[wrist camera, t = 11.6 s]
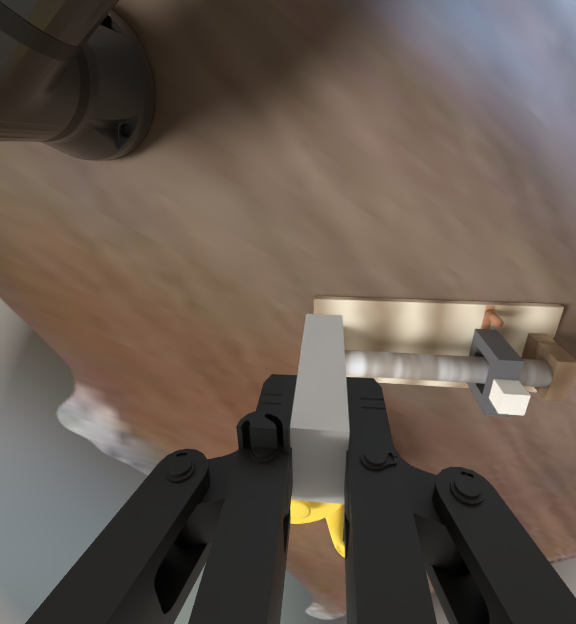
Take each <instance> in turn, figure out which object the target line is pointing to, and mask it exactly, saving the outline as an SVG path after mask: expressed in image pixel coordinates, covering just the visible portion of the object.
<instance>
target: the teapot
mask: <svg viewBox="0 0 576 624" xmlns="http://www.w3.org/2000/svg"><path fill="white" fill-rule="evenodd" d="M290 510H291V522H290V523H292V524H302V523H308V522H313V521H317V520H320V519H323V518H325V517H326V520H327V523H328V527H329V531H330V534H331V537H332V540H333V543H334V545H335V548H336V549H337V551H338V552H339V553H340V555H342V556H343V557H344V558H345V544H344V542H343V516H344V504H336V503H325V502H313V501H301V500H292V497H291V506H290Z"/></svg>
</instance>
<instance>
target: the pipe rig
mask: <svg viewBox="0 0 576 624" xmlns="http://www.w3.org/2000/svg"><path fill="white" fill-rule="evenodd" d="M563 309H564V307H563V306H561V305H560V304H542V303H512V302H481V301H451V300H421V299H390V298H360V297H330V296H314V314H326V315H342V318H343V334H344V350H345V366H346V377H360V378H374V379H375V380H376V382H380V383H396V384H412V385H428V386H444V387H460V388H469V386H468V385H467V383H480V384H485V382H486V378H487V374H488V370H489V366H490V364H489V363H488V361H487V360H486V358H485V357H474V356H469V353H470V348H471V344H472V339H473V335H474V331H475V329H494V330H497V331H498V332H499V333H500V334H501V335H502V336H503V338H504V339H505V340H506V341H507V342H508V343H509V344H510V346H511V347H512V348H513V349H514V350H515V351H516V352H517V353H518V355H519V356H520V357H521V358H522V359H523V360H524V365H523V368H522V371H521V375H520V378H519V382H520V383H521V384H522V385H523V387H524V388H525V389H526V390H527V392H536V391H538V393H539V394H540V395H541V396H542V397H543V399H544V400H546V401H561V402H565V400H566V397H567V394H568V392H569V389H570V386H571V383H572V381H573V378H574V375H575V373H576V359H574V358H573V357H572V356H571V355H570V354H569V353H568V352H566V351H565V350H564V349H563V348H562V347H561V346H560V345H558V344H557V343H556V342H555V341H554V337H555V334H556V331H557V328H558V325H559V321H560V318H561V315H562V312H563Z"/></svg>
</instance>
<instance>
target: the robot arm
mask: <svg viewBox="0 0 576 624" xmlns="http://www.w3.org/2000/svg"><path fill="white" fill-rule="evenodd" d="M118 1H119V0H0V141H33V142H42V143H44V144H47V145H49V146H51V147H53V148H55V149H57V150H59V151H61V152H63V153H65V154H68V155H70V156H73V157H76V158H80V159H85V160H96V161H97V160H112V159H117V158H120V157H122V156H125V155H127V154H128V153H130V152H131V151H133V150H134V149H135V148H136V147H137V146H138V145H139V144H140V143H141V142H142V140H143V139H144V137H145V136H146V134H147V132H148V130H149V128H150V125H151V122H152V119H153V114H154V108H155V85H154V78H153V74H152V69H151V66H150V63H149V60H148V57H147V55H146V53H145V50H144V48H143V46H142V45H141V43H140V41H139V39H138V38H137V36H136V35H135V33H134V32H133V31H132V29H131V28H130V27H129V26H128V25H127V23H126V22H125V21H124V20H123V19H122V18H121V17H120V16H118V15H117V14H116V13H115V12H113V11H112V9H113V7H114V6H115V5H116V3H117V2H118ZM236 427H237V436H238V445H239V449H238V450H237V451H235V452H233V453H231V454H229V455H226V456H222V457H217V458H212V459H206V457H205V456H204V454H203V453H201V452H199V451H197V450H194V449H183V450H178V451H175V452H173V453H171V454H169V455H167V456H166V457H165V458H164V459H163V460H162V461H160V462H159V464H158V465H157V466H156V467H155V468H154V470H153V471H152V472H151V473H150V474H149V476H148V477H147V478H146V479H145V480H144V482H143V483H142V484H141V485H140V486H139V488H138V489H137V490H136V491H135V492H134V494H133V495H132V496H131V497H130V499H129V500H128V501H127V502H126V503H125V504H124V506H123V507H122V508H121V509H120V510H119V512H118V513H117V514H116V515H115V517H114V518H113V519H112V520H111V521H110V522H109V524H108V525H107V526H106V527H105V529H104V530H103V531H102V532H101V533H100V534H99V536H98V537H97V538H96V539H95V541H94V542H93V543H92V544H91V545H90V546H89V548H88V549H87V550H86V551H85V552H84V554H83V555H82V556H81V557H80V558H79V560H78V561H77V562H76V563H75V565H74V566H73V567H72V568H71V569H70V570H69V572H68V573H67V574H66V575H65V576H64V578H63V579H62V580H61V581H60V583H59V584H58V585H57V586H56V587H55V588H54V590H53V591H52V592H51V593H50V595H49V596H48V597H47V598H46V599H45V600H44V602H43V603H42V604H41V605H40V607H39V608H38V609H37V610H36V611H35V612H34V614H33V615H32V616H31V617H30V618H29V620H28V621H27V622H26V623H25V624H174V622H175V620H176V618H177V616H178V614H179V612H180V611H181V609H182V607H183V605H184V603H185V601H186V599H187V597H188V595H189V593H190V592H191V590H192V588H193V586H194V584H195V582H196V580H197V578H198V576H199V574H200V572H201V571H202V569H203V567H204V565H205V563H206V565H205V568H204V572H203V576H202V579H201V582H200V585H199V589H198V592H197V596H196V599H195V603H194V606H193V609H192V613H191V616H190V620H189V623H188V624H280V618H281V608H282V599H283V589H284V579H285V570H286V560H287V551H288V541H289V531H290V522H291V510H290V506H291V497H292V500H301V501H313V502H325V503H336V504H344V503H345V515H344V529H343V542H344V544H345V578H346V611H347V624H437V622H436V617H435V612H434V608H433V603H432V598H431V594H430V589H429V584H428V580H427V575H426V572H427V574H428V577H429V579H430V581H431V584H432V586H433V588H434V590H435V593H436V595H437V597H438V600H439V602H440V604H441V606H442V609H443V611H444V613H445V615H446V617H447V620H448V622H449V624H576V598H575V597H574V595H573V594H572V592H571V591H570V590H569V588H568V587H567V586H566V584H565V583H564V582H563V580H562V579H561V578H560V576H559V575H558V573H557V572H556V571H555V570H554V568H553V567H552V565H551V564H550V563H549V561H548V560H547V559H546V557H545V556H544V555H543V553H542V552H541V551H540V549H539V548H538V546H537V545H536V544H535V542H534V541H533V540H532V538H531V537H530V536H529V534H528V533H527V532H526V530H525V529H524V528H523V526H522V525H521V524H520V522H519V521H518V519H517V518H516V517H515V515H514V514H513V513H512V511H511V510H510V509H509V507H508V506H507V505H506V503H505V502H504V501H503V499H502V498H501V497H500V495H499V494H498V492H497V491H496V490H495V488H494V487H493V486H492V485H491V484H490V483H489V482H488V481H487V480H486V479H485V478H484V477H482V476H481V475H479V474H477V473H476V472H474V471H472V470H469V469H466V468H463V467H449V468H446V469H443V470H442V471H441V472H440V473H439V474H438V475H434V474H432V473H429V472H426V471H423V470H420V469H418V468H415V467H413V466H411V465H410V464H408V463H407V462H405V461H404V460H403V459H402V458H401V457H400V456H399V454H398V453H397V452H396V450H395V448H394V445H393V442H392V437H391V432H390V427H389V422H388V417H387V412H386V407H385V402H384V397H383V392H382V388H381V387H380V385H379V384H378V383H377V382H376V380H375V379H374V378H360V377H346V366H345V350H344V334H343V318H342V315H326V314H306V319H305V326H304V333H303V340H302V347H301V354H300V361H299V368H298V375H276V374H272V375H271V376H270V377H269V378H268V379H267V380H266V381H265V382H264V384H263V387H262V391H261V395H260V398H259V402H258V405H257V409H256V411H255V412H252V413H249V414H247V415H246V416H245V417H243V418H242V419H241V420H240V421H239V423H238V425H237V426H236ZM206 561H207V562H206ZM425 570H426V571H425Z"/></svg>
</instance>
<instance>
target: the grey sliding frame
mask: <svg viewBox="0 0 576 624" xmlns="http://www.w3.org/2000/svg"><path fill="white" fill-rule="evenodd" d="M469 356H474V357H485V358H486V360H487V361H488V363H489V364H490V366H489V370H488V374H487V378H486V382H485V384H480V383H467V385H468V386H469V388H470V390H471V392H472V394H473V396H474V397H475V399H476V401H477V403H478V405H479V406H480V408H481V410H482V412H483V414H484V415H489V416H504V417H508V415H509V414H511V415H525V411H526V408H527V405H528V402H529V399H530V394H529V393H528V392H527V390H526V389H525V388H524V387H523V385H522V384H521V383H520V382H519V378H520V375H521V371H522V368H523V365H524V360H523V359H522V358H521V357H520V356H519V355H518V353H517V352H516V351H515V350H514V349H513V348H512V347H511V346H510V344H509V343H508V342H507V341H506V340H505V339H504V338H503V336H502V335H501V334H500V333H499V332H498V331H497V330H494V329H475V331H474V335H473V339H472V344H471V348H470V353H469Z"/></svg>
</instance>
